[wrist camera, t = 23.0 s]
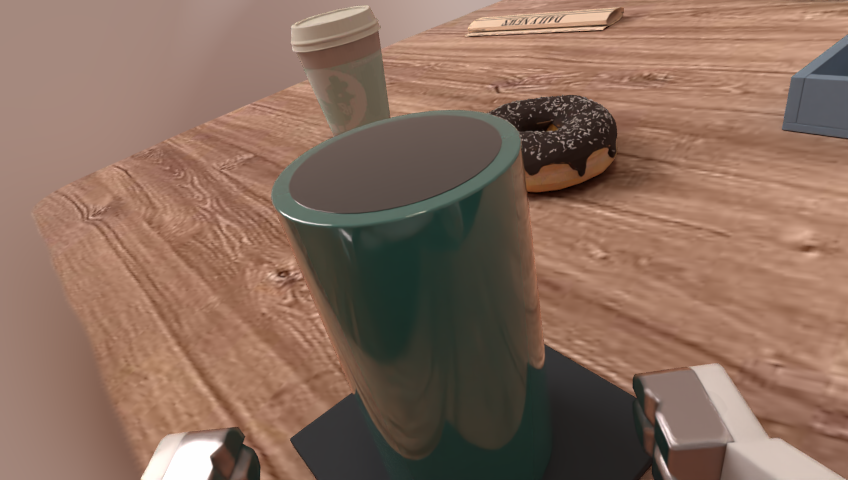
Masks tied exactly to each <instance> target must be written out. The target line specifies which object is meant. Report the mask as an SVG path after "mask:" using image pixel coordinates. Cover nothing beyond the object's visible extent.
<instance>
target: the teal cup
mask: <svg viewBox="0 0 848 480" xmlns="http://www.w3.org/2000/svg"><path fill="white" fill-rule="evenodd" d="M271 200H272V204H273V207H274V209H275V211H276V214H277V216H278V219H279V221H280V223H281V226H282V228H283V230H284V233H285V235H286V237H287V240H288V242H289V244H290V247H291V249H292V252H293V254H294V256H295V259H296V261H297V263H298V266H299V268H300V270H301V273H302V275H303V277H304V280H305V282H306V285H307V287H308V289H309V292H310V294H311V296H312V299H313V301H314V303H315V306H316V308H317V311H318V313H319V315H320V318H321V320H322V322H323V325H324V327H325V329H326V332H327V334H328V336H329V339H330V341H331V344H332V346H333V348H334V351H335V353H336V355H337V358H338V360H339V362H340V365H341V367H342V369H343V372H344V374H345V377H346V379H347V381H348V384H349V386H350V388H351V391H352V393H353V395H354V398H355V400H356V403H357V405H358V407H359V410H360V412H361V414H362V417H363V419H364V421H365V424H366V426H367V428H368V431H369V433H370V436H371V438H372V440H373V443H374V445H375V447H376V450H377V452H378V454H379V457H380V459H381V461H382V464H383V466H384V469H385V471H386V473H387V475H388V477H389V479H390V480H540V479H541V477H542V475H543V474H544V472H545V470H546V468H547V466H548V464H549V461H550V458H551V454H552V451H553V442H554V431H553V421H552V412H551V403H550V393H549V384H548V375H547V366H546V357H545V348H544V338H543V329H542V320H541V311H540V302H539V293H538V284H537V274H536V265H535V256H534V247H533V238H532V229H531V220H530V210H529V201H528V192H527V183H526V174H525V165H524V156H523V146H522V139H521V136H520V133H519V132H518V130H517V129H516V128H515V126H513V125H512V124H511V123H510V122H508V121H506V120H505V119H503V118H500V117H498V116H495V115H491V114H487V113H483V112H476V111H465V110H441V111H429V112H420V113H413V114H407V115H402V116H397V117H392V118H388V119H384V120H380V121H377V122H373V123H370V124H367V125H363V126H360V127H357V128H355V129H352V130H349V131H347V132H344V133H342V134H340V135H337V136H335V137H333V138H331V139H329V140H326V141H324V142H322V143H321V144H319V145H317V146H315V147H313V148H312V149H310V150H309V151H307V152H305V153H304V154H302V155H301V156H300V157H298V158H297V159H295V160H294V161H293V162H292V163H291V164H290V165H288V166H287V167H286V168H285V169H284V170H283V172H282V173H281V174H280V175H279V176H278V178H277V179H276V181H275V183H274V185H273V188H272V193H271Z"/></svg>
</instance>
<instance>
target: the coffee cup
mask: <svg viewBox="0 0 848 480" xmlns="http://www.w3.org/2000/svg"><path fill="white" fill-rule="evenodd" d="M380 28H381V26H379V24H378V19H377V18H375V16H374V14H373V12H372V10H371V9H370V7H369V6H355V7H349V8H344V9H339V10H334V11H330V12H327V13H323V14H320V15H316V16H313V17H310V18H307V19H304V20H302V21H299V22H297V23H295V24H293V25H292V26H291V34H292V40H291V44H292V47H293V48H292V51H295V52H296V53H297V55H298V57H299V59H300V62H301V64H302V66H303V68H304V71H305V73H306V75H307V77H308V80H309V82H310V84H311V86H312V88H313V91H314V93H315V95H316V97H317V100H318V102H319V104H320V106H321V108H322V111H323V113H324V115H325V117H326V120H327V122H328V124H329V126H330V128H331V131H332V133H333V135H334V137H335V136H337V135H340V134H342V133H344V132H347V131H349V130H352V129H355V128H357V127H360V126H363V125H367V124H370V123H373V122H377V121H380V120H384V119H388V118H390V111H389V104H388V97H387V90H386V82H385V75H384V68H383V61H382V53H381V47H380V39H379V33H378V30H379V29H380Z"/></svg>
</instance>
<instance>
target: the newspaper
mask: <svg viewBox="0 0 848 480" xmlns="http://www.w3.org/2000/svg"><path fill="white" fill-rule="evenodd" d="M623 13H624V8H622V7H617V8H604V9H590V10H577V11H563V12H550V13H536V14H523V15H509V16H496V17H483V18H479V19H477V20H475V21H474V22H472V23H471V24H470V26H469V27H468V31H469V32H472V33H469V34H467V35H465V36H483V35H505V34H526V33H548V32H569V31H591V30H603V29H604V28H605V27H606V26H609V25H612V24H613V23H615V22H617V21H618V20H620V18H621V17H622V16H623Z"/></svg>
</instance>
